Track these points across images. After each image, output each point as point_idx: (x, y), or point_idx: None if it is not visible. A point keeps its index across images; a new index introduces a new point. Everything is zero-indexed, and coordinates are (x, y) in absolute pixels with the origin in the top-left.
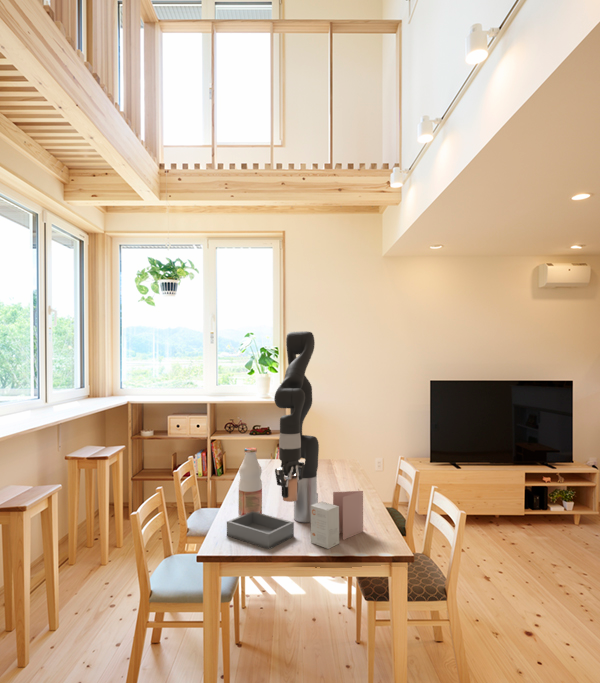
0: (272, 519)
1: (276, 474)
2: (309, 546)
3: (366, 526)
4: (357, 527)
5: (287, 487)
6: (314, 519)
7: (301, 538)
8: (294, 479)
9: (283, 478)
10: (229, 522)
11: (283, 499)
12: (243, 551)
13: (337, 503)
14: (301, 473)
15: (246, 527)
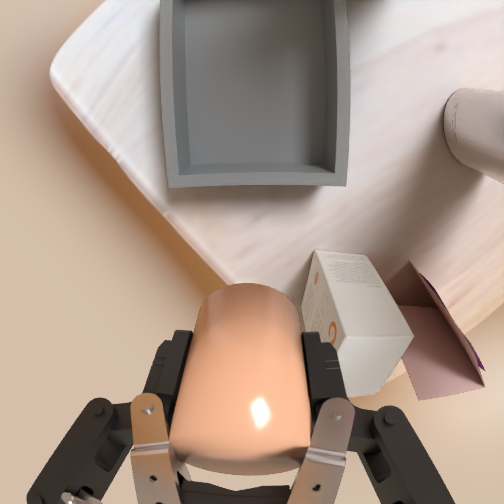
0: (335, 70)
1: (47, 475)
2: (288, 260)
3: (466, 297)
4: (429, 318)
5: None
6: (325, 315)
7: (330, 205)
8: (251, 470)
9: (108, 476)
10: None
11: (200, 309)
12: (120, 123)
13: (456, 327)
14: (376, 477)
15: (160, 61)
